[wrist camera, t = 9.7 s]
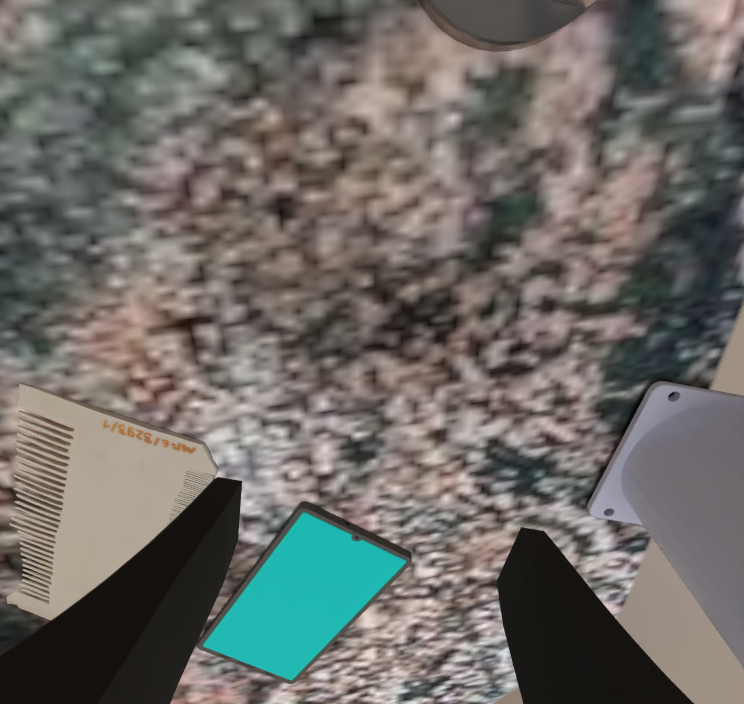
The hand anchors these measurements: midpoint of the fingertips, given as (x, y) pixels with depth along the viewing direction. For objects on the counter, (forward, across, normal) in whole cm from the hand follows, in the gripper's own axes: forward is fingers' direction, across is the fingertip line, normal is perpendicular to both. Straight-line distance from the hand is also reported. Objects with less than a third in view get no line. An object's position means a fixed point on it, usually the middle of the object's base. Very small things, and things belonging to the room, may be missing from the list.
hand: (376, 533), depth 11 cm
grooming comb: (+10, +14, +14) cm, 22 cm away
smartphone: (+10, +2, +17) cm, 20 cm away
